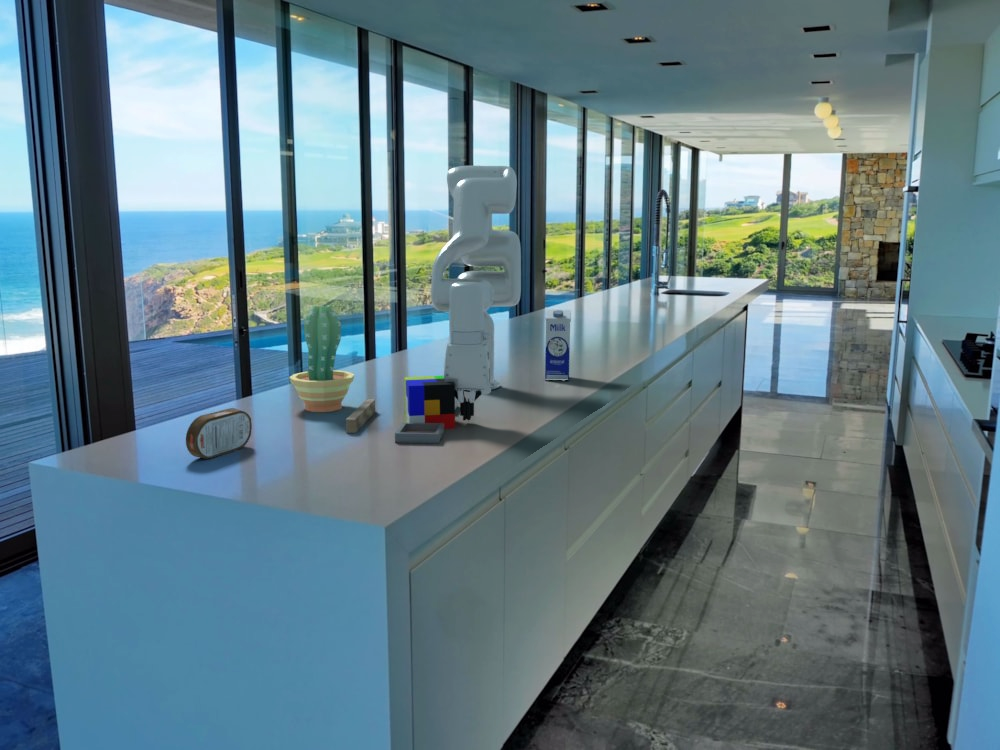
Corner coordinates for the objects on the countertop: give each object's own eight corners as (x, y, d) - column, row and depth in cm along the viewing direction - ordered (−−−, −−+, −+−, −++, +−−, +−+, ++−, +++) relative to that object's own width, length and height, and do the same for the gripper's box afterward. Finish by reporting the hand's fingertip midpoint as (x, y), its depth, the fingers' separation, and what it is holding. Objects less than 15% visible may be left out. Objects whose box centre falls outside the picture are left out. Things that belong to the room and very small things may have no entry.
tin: (244, 443, 168) (242, 403, 166) (255, 445, 166) (253, 405, 165) (185, 462, 155) (182, 419, 153) (197, 464, 153) (194, 421, 152)
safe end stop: (367, 411, 195) (366, 399, 195) (375, 411, 195) (375, 399, 195) (346, 432, 176) (345, 419, 175) (355, 433, 176) (355, 419, 175)
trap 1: (403, 431, 177) (402, 422, 177) (444, 432, 176) (444, 423, 176) (395, 442, 168) (394, 433, 168) (438, 443, 168) (438, 434, 167)
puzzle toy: (409, 430, 178) (408, 386, 176) (405, 419, 187) (404, 377, 185) (455, 428, 180) (454, 384, 178) (448, 417, 189) (447, 375, 187)
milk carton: (569, 377, 239) (571, 308, 235) (569, 381, 232) (570, 311, 228) (545, 376, 239) (546, 308, 235) (544, 381, 233) (545, 311, 229)
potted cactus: (365, 403, 204) (363, 303, 200) (337, 417, 190) (334, 310, 185) (310, 399, 208) (306, 301, 204) (278, 412, 194) (273, 307, 189)
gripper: (501, 336, 184) (501, 415, 187) (435, 335, 184) (436, 414, 188) (499, 341, 176) (499, 423, 180) (430, 340, 177) (431, 422, 181)
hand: (467, 418), depth 184 cm, fingers closed
